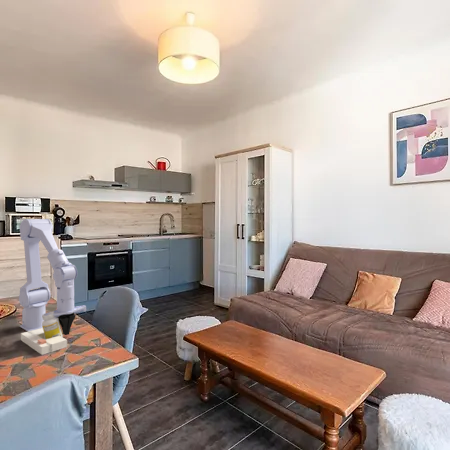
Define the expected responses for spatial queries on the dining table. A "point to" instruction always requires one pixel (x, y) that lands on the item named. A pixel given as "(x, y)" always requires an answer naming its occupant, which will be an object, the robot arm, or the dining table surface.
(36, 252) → the robot arm
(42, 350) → the socket dock
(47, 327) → the supplement bottle
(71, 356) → the dining table surface
